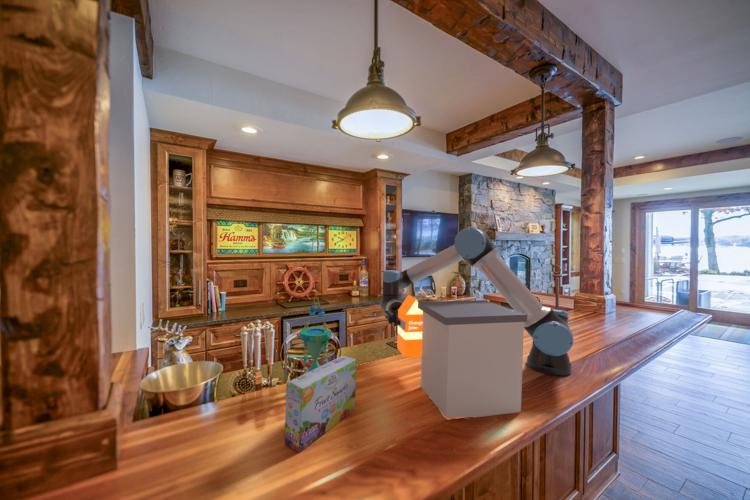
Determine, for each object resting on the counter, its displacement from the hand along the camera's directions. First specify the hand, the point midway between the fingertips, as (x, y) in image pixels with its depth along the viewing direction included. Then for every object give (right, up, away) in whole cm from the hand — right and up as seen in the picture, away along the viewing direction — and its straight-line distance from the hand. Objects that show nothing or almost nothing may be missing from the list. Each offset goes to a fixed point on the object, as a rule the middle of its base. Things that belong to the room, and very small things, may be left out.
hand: (416, 325), depth 102 cm
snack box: (-27, -20, -25) cm, 42 cm away
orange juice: (-1, -11, +5) cm, 12 cm away
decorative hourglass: (-34, -19, -6) cm, 39 cm away
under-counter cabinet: (+14, -20, -10) cm, 27 cm away
